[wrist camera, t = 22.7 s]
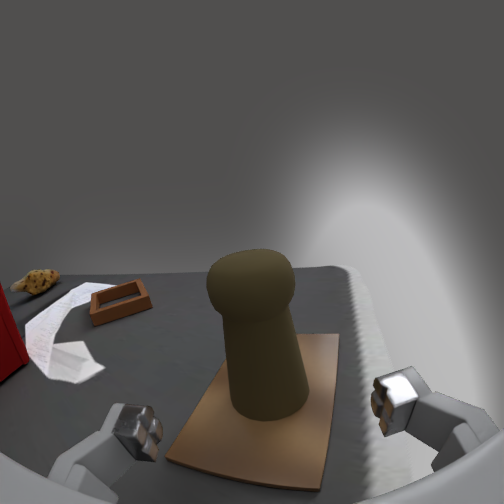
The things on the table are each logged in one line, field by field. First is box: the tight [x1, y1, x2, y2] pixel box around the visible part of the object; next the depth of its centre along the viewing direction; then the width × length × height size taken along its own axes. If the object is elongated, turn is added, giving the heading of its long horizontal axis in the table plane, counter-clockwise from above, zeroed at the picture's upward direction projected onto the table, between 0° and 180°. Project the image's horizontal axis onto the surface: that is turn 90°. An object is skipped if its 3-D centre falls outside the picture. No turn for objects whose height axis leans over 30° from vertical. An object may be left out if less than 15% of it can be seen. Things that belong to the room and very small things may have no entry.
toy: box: [10, 269, 60, 295], centre depth 50 cm, size 6×15×10 cm
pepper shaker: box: [206, 249, 310, 422], centre depth 17 cm, size 6×6×11 cm
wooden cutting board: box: [165, 334, 339, 492], centre depth 19 cm, size 16×10×1 cm, turn 163°
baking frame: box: [90, 278, 152, 326], centre depth 39 cm, size 10×10×2 cm
